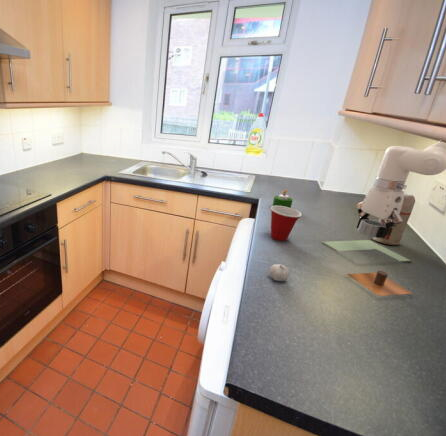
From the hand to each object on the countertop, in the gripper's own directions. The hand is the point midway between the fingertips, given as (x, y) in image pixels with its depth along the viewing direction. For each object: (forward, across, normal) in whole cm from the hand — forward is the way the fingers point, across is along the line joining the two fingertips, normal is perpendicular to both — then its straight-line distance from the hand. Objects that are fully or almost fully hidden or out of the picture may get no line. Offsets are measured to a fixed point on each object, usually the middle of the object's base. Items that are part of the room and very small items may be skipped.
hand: (370, 232), depth 105 cm
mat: (+8, 0, 0) cm, 8 cm away
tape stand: (+8, -20, +15) cm, 26 cm away
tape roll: (0, 0, 0) cm, 0 cm away
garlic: (+8, -14, +43) cm, 46 cm away
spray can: (+8, +7, -16) cm, 19 cm away
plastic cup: (+8, +13, +24) cm, 29 cm away
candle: (+8, +46, +2) cm, 47 cm away
